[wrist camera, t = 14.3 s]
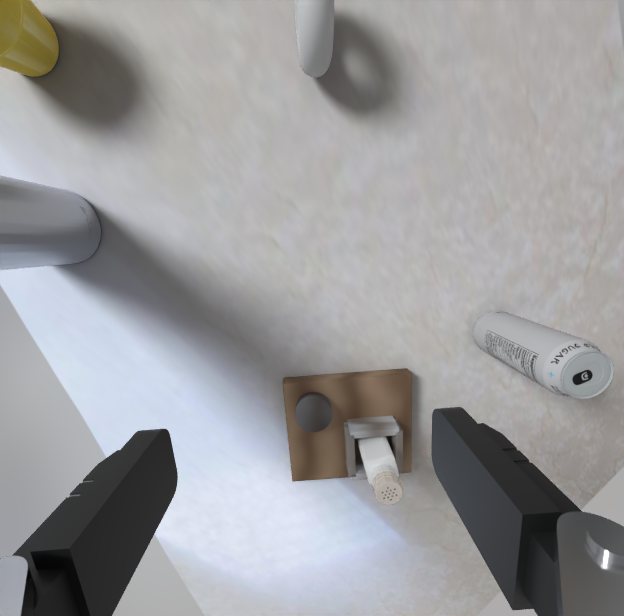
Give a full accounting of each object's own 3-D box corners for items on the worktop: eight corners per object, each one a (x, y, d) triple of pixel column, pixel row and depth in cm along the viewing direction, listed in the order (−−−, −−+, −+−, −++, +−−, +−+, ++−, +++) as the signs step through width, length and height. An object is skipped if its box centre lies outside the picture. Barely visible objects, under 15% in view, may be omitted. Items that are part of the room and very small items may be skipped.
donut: (329, 94, 35) (339, 37, 26) (301, 96, 35) (299, 41, 26) (323, -7, 33) (330, -110, 23) (292, -4, 33) (287, -107, 23)
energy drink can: (516, 338, 43) (626, 389, 28) (476, 356, 43) (565, 414, 28) (503, 302, 41) (612, 334, 27) (463, 320, 42) (548, 361, 27)
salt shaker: (354, 432, 43) (368, 484, 34) (381, 424, 43) (402, 475, 34) (361, 454, 44) (376, 511, 35) (387, 447, 44) (409, 503, 34)
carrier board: (293, 471, 47) (291, 498, 42) (283, 377, 43) (281, 395, 38) (406, 462, 47) (418, 488, 42) (406, 368, 43) (419, 384, 38)
